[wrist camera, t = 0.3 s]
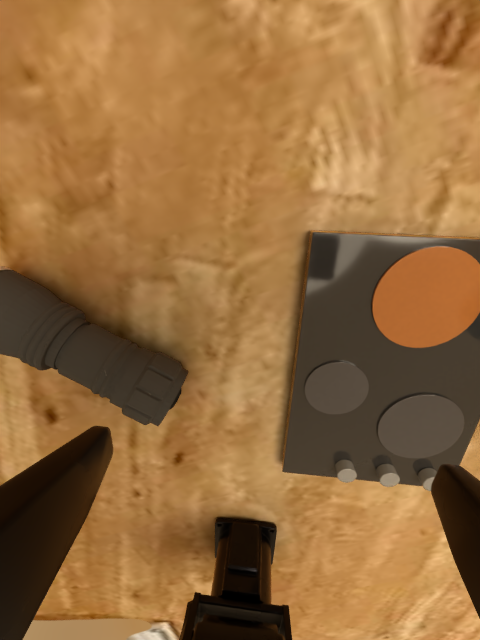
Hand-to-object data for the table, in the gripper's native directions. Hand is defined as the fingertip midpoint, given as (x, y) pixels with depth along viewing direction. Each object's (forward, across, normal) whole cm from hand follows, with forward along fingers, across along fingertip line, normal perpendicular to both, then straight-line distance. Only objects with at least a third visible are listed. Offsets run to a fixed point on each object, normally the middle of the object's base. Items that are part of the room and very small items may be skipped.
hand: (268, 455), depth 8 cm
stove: (+14, -10, +6) cm, 18 cm away
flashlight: (+15, +13, +5) cm, 20 cm away
